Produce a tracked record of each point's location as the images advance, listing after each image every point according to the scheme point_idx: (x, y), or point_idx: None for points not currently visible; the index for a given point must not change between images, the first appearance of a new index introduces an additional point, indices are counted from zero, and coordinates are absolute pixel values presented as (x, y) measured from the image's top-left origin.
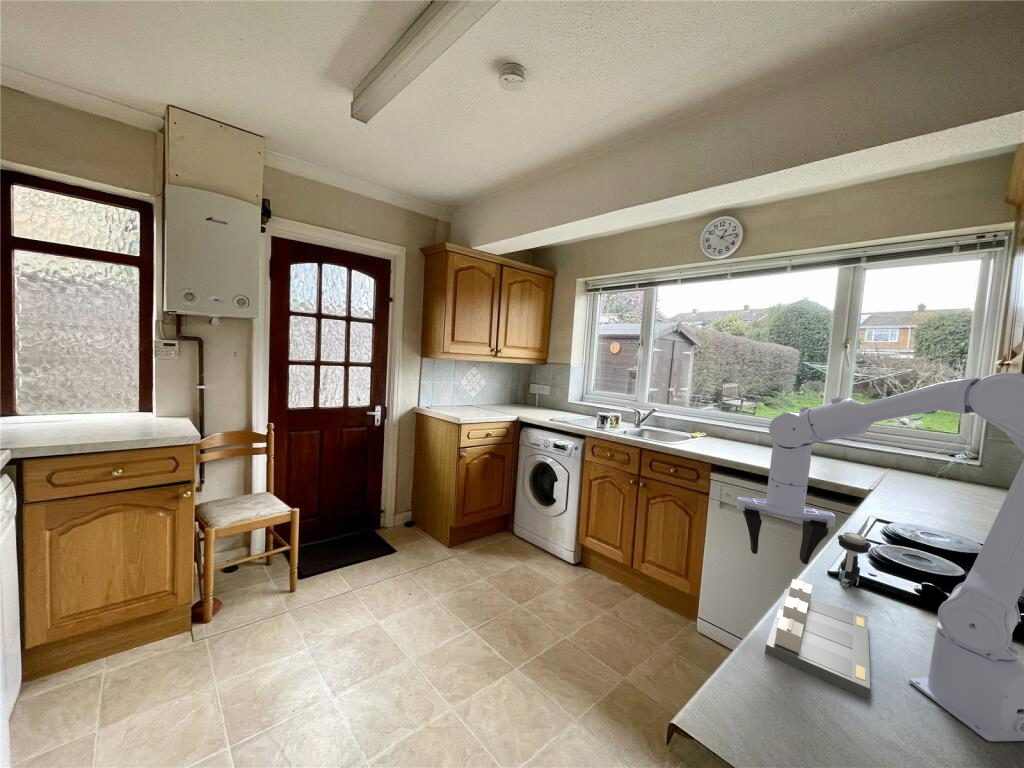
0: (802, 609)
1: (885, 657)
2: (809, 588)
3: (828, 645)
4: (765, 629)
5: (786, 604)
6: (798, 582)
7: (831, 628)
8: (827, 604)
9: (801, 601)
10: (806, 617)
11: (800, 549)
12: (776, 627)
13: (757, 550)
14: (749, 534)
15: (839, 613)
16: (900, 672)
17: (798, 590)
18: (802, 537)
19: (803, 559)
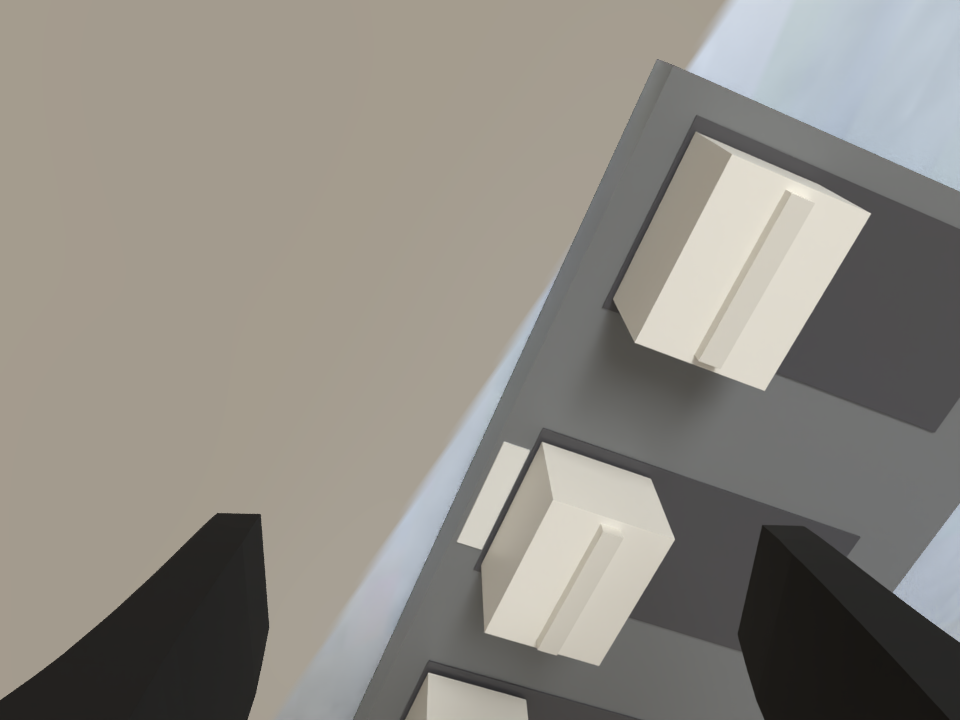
0: (594, 629)
1: (953, 545)
2: (805, 296)
3: (655, 679)
4: (391, 558)
5: (505, 615)
6: (754, 216)
7: (759, 525)
8: (916, 213)
9: (632, 534)
10: (649, 482)
11: (812, 582)
12: (428, 635)
13: (256, 678)
14: (110, 621)
15: (932, 316)
16: (942, 629)
17: (688, 359)
18: (919, 697)
19: (754, 666)
